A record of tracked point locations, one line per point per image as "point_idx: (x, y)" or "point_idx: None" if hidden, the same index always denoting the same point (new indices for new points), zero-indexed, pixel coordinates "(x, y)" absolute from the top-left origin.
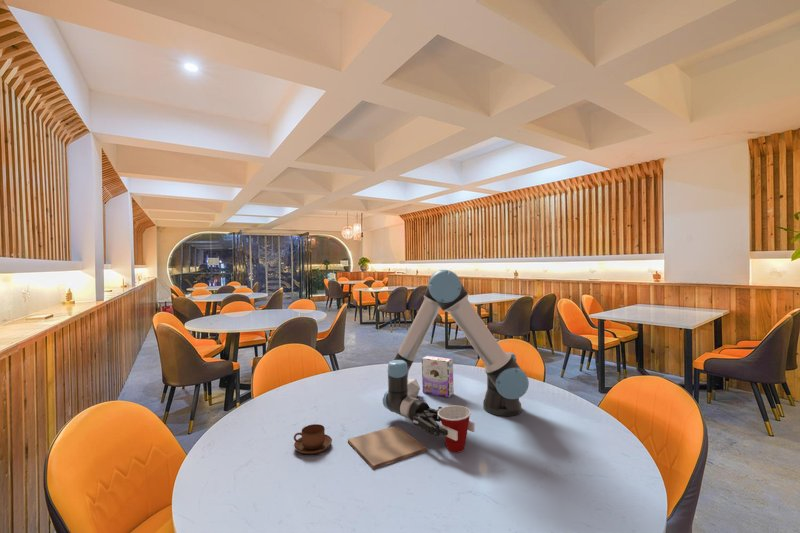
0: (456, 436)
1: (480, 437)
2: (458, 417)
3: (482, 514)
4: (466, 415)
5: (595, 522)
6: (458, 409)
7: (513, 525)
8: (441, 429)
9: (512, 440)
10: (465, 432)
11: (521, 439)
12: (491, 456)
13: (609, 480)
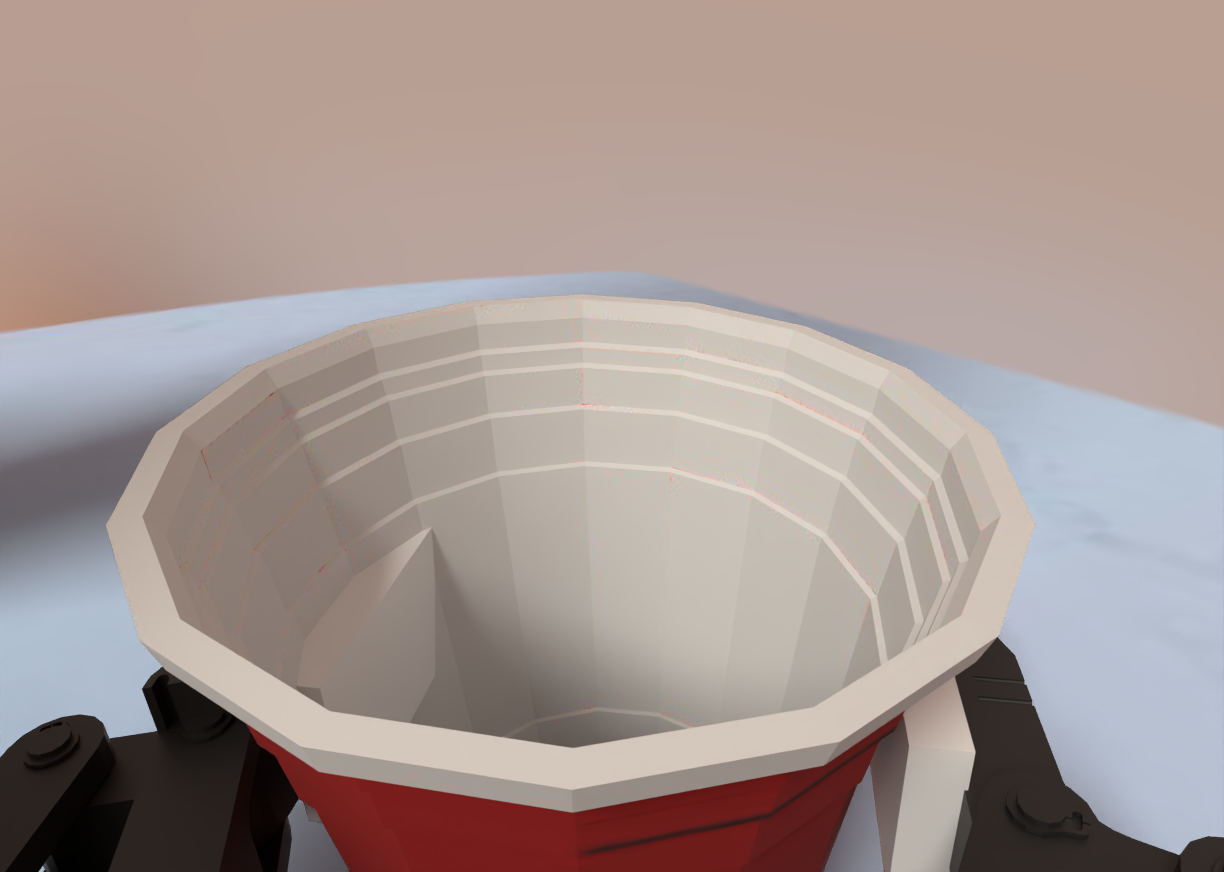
0: None
1: None
2: (312, 672)
3: (1167, 450)
4: (366, 472)
5: (759, 310)
6: (216, 542)
7: (1058, 385)
8: (1021, 711)
9: None
10: (605, 588)
11: (91, 567)
12: None
13: None
